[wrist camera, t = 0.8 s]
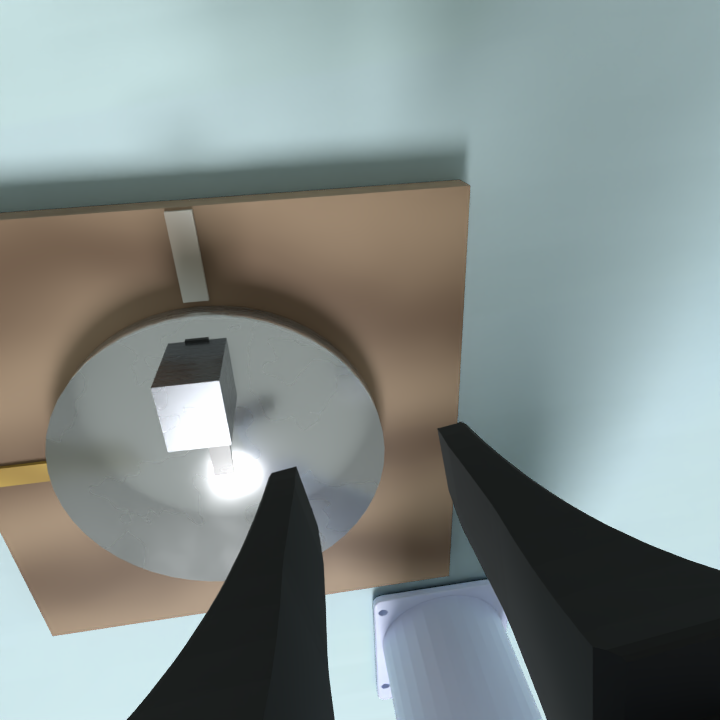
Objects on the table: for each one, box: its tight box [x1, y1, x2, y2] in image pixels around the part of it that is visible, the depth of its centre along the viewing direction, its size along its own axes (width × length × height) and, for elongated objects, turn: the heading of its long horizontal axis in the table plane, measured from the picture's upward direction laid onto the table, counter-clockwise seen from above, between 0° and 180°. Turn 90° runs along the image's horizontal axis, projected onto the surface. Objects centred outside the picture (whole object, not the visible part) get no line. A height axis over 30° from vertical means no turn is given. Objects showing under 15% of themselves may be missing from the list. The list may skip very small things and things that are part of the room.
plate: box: [0, 180, 470, 636], centre depth 23 cm, size 20×20×1 cm
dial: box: [45, 305, 385, 581], centre depth 21 cm, size 13×13×4 cm
